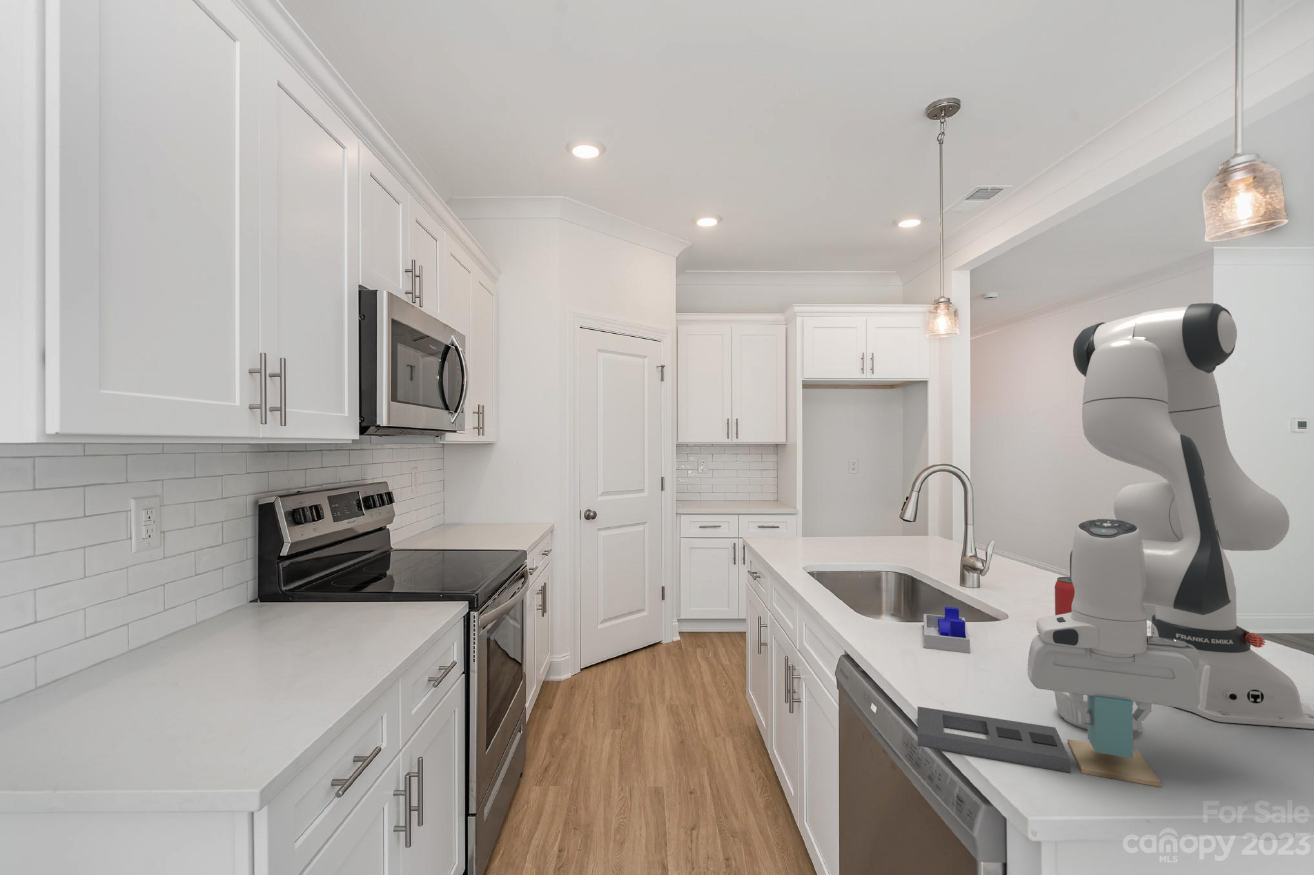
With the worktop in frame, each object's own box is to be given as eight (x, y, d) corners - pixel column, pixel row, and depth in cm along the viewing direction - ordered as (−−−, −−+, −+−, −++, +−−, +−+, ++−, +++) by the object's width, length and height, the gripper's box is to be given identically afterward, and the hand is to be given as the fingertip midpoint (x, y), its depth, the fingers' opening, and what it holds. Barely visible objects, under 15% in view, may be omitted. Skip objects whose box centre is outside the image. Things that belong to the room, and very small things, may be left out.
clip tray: (964, 629, 149) (964, 617, 149) (969, 653, 133) (969, 639, 133) (923, 625, 153) (923, 613, 153) (924, 647, 137) (924, 634, 137)
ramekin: (1083, 702, 109) (1082, 672, 109) (1151, 730, 98) (1150, 698, 98) (1036, 712, 105) (1036, 681, 105) (1102, 742, 94) (1102, 709, 94)
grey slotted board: (1055, 740, 95) (1055, 726, 95) (1070, 772, 86) (1069, 758, 86) (917, 718, 103) (917, 705, 103) (917, 745, 94) (917, 732, 94)
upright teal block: (1123, 743, 89) (1122, 689, 89) (1133, 758, 85) (1132, 701, 85) (1087, 738, 91) (1087, 685, 91) (1095, 752, 87) (1094, 696, 87)
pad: (1138, 754, 90) (1138, 750, 90) (1160, 787, 82) (1160, 782, 82) (1067, 743, 94) (1067, 739, 94) (1081, 773, 86) (1081, 768, 86)
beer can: (1093, 631, 146) (1093, 582, 146) (1066, 631, 146) (1065, 582, 146) (1075, 623, 153) (1074, 576, 153) (1049, 623, 153) (1048, 576, 153)
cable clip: (938, 630, 149) (937, 606, 149) (958, 632, 148) (958, 607, 148) (943, 646, 138) (943, 620, 138) (965, 648, 137) (965, 622, 137)
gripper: (1189, 634, 87) (1190, 729, 87) (1025, 618, 95) (1026, 705, 95) (1208, 648, 81) (1209, 750, 81) (1031, 630, 89) (1032, 723, 89)
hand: (1109, 726), depth 88 cm, fingers closed on upright teal block, 4 cm apart
